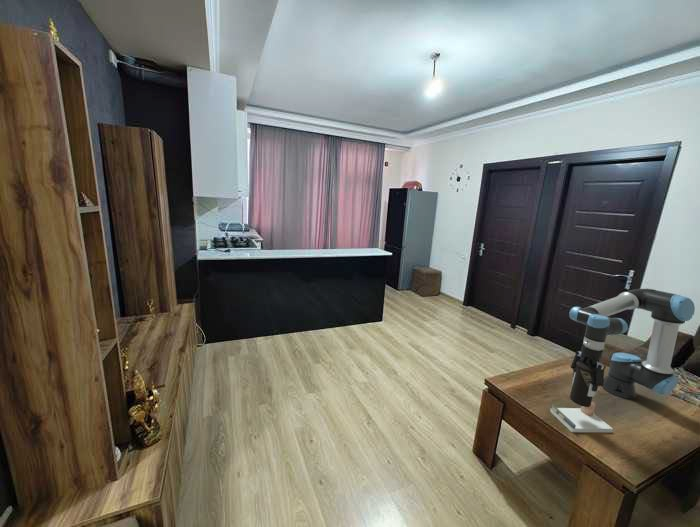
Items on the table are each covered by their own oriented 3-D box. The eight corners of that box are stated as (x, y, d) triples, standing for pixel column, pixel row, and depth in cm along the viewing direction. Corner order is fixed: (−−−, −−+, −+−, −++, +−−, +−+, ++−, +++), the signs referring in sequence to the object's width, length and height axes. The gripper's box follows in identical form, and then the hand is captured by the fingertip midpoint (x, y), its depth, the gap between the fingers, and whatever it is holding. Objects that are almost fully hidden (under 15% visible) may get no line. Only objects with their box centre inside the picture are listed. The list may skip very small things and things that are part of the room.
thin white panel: (586, 411, 148) (587, 405, 147) (611, 432, 134) (613, 425, 134) (549, 411, 147) (550, 404, 146) (571, 432, 133) (573, 425, 133)
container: (579, 407, 134) (588, 369, 130) (564, 395, 143) (572, 359, 139) (596, 407, 135) (605, 369, 131) (579, 395, 143) (588, 359, 140)
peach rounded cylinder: (587, 408, 147) (589, 398, 146) (595, 415, 142) (598, 405, 141) (578, 408, 147) (580, 398, 146) (586, 415, 142) (588, 405, 141)
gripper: (567, 336, 143) (558, 377, 147) (605, 358, 122) (594, 404, 127) (581, 337, 144) (572, 377, 148) (622, 358, 123) (610, 404, 127)
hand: (582, 390), depth 137 cm, fingers closed on container, 8 cm apart
